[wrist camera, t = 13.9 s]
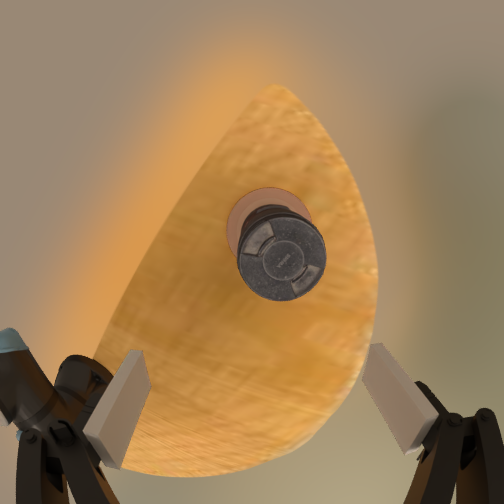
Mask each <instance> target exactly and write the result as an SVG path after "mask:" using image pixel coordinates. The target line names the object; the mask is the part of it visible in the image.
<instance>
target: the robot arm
mask: <svg viewBox="0 0 504 504" xmlns="http://www.w3.org/2000/svg"><path fill="white" fill-rule="evenodd" d="M362 381H363V383H364V384H365V386H366V388H367V390H368V391H369V393H370V395H371V396H372V398H373V400H374V401H375V403H376V405H377V407H378V409H379V410H380V412H381V414H382V415H383V417H384V419H385V421H386V423H387V424H388V426H389V428H390V430H391V432H392V433H393V435H394V437H395V439H396V441H397V442H398V444H399V446H400V448H401V449H402V451H403V453H404V455H406V454H409V453H412V452H414V451H417V450H418V448H419V446H420V445H421V444H423V446H424V449H423V451H422V452H421V454H420V455H419V457H418V458H417V460H419V459H420V461H419V464H418V467H417V470H416V473H415V475H414V478H413V481H412V484H411V486H410V489H409V492H408V494H407V497H406V499H405V501H404V504H450V503H451V499H452V496H453V492H454V487H455V484H456V504H504V445H503V441H502V438H501V433H500V430H499V426H498V423H497V419H496V416H495V414H494V412H493V411H492V410H490V409H488V408H481V409H479V410H478V411H477V413H476V414H475V416H473V417H466V418H463V417H462V416H461V415H459V414H457V413H449V412H448V411H447V410H446V409H445V407H444V406H443V405H442V404H441V402H440V401H439V400H438V399H437V398H436V397H435V395H434V394H433V393H432V392H431V390H430V389H429V388H428V387H427V385H425V384H424V383H422V382H420V381H417V382H413V380H412V379H411V378H410V377H409V375H408V374H407V373H406V372H405V370H404V369H403V368H402V367H401V366H400V365H399V363H398V362H397V361H396V360H395V358H394V357H393V356H392V355H391V353H390V352H389V351H388V350H387V349H386V348H385V346H384V345H383V344H382V343H377V344H371V345H370V350H369V354H368V358H367V362H366V366H365V370H364V374H363V378H362ZM150 389H151V384H150V380H149V376H148V372H147V368H146V364H145V360H144V356H143V351H139V350H130V351H129V353H128V354H127V356H126V358H125V359H124V361H123V362H122V364H121V366H120V367H119V369H118V371H117V372H116V374H115V375H114V377H113V376H112V375H111V374H110V373H109V372H108V371H107V370H106V369H105V368H104V367H103V366H102V365H100V364H99V363H97V362H96V361H94V360H92V359H90V358H88V357H85V356H82V355H71V356H69V357H67V358H66V359H65V360H64V361H63V362H62V364H61V365H60V368H59V372H58V374H57V377H56V380H55V384H54V386H53V385H52V384H51V383H50V381H49V380H48V378H47V377H46V376H45V374H44V373H43V371H42V370H41V368H40V367H39V365H38V363H37V362H36V360H35V359H34V357H33V355H32V354H31V352H30V351H29V348H28V347H27V346H26V345H25V343H24V342H23V340H22V338H21V337H20V335H19V333H18V332H17V331H16V330H15V329H13V328H6V329H4V330H2V331H0V425H2V426H8V425H9V424H10V423H11V422H12V421H13V423H14V424H15V425H16V426H17V427H18V429H19V430H18V431H17V434H16V437H17V440H18V441H19V448H18V458H17V472H16V504H69V497H68V489H67V482H68V484H69V487H70V489H71V492H72V495H73V497H74V499H75V502H76V504H120V503H119V501H118V500H117V498H116V497H115V495H114V493H113V491H112V489H111V487H110V485H109V484H108V482H107V480H106V478H105V476H104V474H103V472H102V470H101V468H100V467H99V463H100V461H101V460H102V462H103V463H104V465H105V466H108V467H111V468H115V469H119V470H120V468H121V465H122V462H123V459H124V456H125V454H126V451H127V448H128V445H129V443H130V440H131V437H132V435H133V432H134V429H135V427H136V424H137V422H138V419H139V416H140V414H141V411H142V409H143V406H144V404H145V401H146V399H147V396H148V394H149V391H150Z"/></svg>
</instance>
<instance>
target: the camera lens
mask: <svg viewBox="0 0 504 504" xmlns="http://www.w3.org/2000/svg"><path fill="white" fill-rule="evenodd" d="M237 264H238V269H239V271H240V274H241V276H242V278H243V280H244V281H245V283H246V284H247V285H248V287H249V288H250V289H251V290H252V291H253V292H255V293H256V294H258V295H259V296H261V297H263V298H266V299H269V300H273V301H289V300H293V299H296V298H298V297H301V296H303V295H304V294H306V293H307V292H309V291H310V290H311V289H312V288H313V287H314V286H315V285H316V284H317V283H318V281H319V280H320V278H321V277H322V275H323V272H324V269H325V266H326V249H325V244H324V240H323V238H322V235H321V234H320V232H319V231H318V229H317V228H316V227H315V226H314V225H313V224H312V223H311V222H310V221H309V220H307V219H306V218H304V217H303V216H301V215H300V214H298V213H296V212H293V211H291V210H290V209H289V208H288V207H287V206H283V205H278V204H277V205H276V204H268V205H263V206H260V207H258V208H256V209H255V210H253V211H252V212H251V213H250V214H249V215H248V216H247V217H246V219H245V221H244V223H243V225H242V228H241V233H240V238H239V243H238V249H237Z"/></svg>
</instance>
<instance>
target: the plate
mask: <svg viewBox="0 0 504 504" xmlns="http://www.w3.org/2000/svg"><path fill="white" fill-rule="evenodd" d="M268 204H276V205H277V204H278V205H283V206H287V207H288V208H289V209H290V210H291V211H293V212H296V213H298V214H300V215H301V216H303V217H304V218H306V219H307V220H309V221H310V222H311V223H312V221H311V217H310V215H309V212H308V210H307V208H306V207H305V205H304V204H303V203H302V202H301V201H300V200H299V199H298V198H297V197H296V196H294V195H293V194H291V193H289V192H287V191H285V190H282V189H278V188H262V189H258V190H255V191H252V192H250V193H248V194H247V195H245V196H244V197H243V198H241V199H240V200H239V201H238V202H237V203H236V205H235V206H234V208H233V209H232V211H231V213H230V215H229V218H228V222H227V239H228V243H229V246H230V248H231V250H232V252H233V254H234V255H235V257H236V258H237V249H238V243H239V238H240V233H241V228H242V225H243V223H244V221H245V219H246V217H247V216H248V215H249V214H250V213H251V212H252V211H253V210H255V209H256V208H258V207H260V206H263V205H268Z"/></svg>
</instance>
